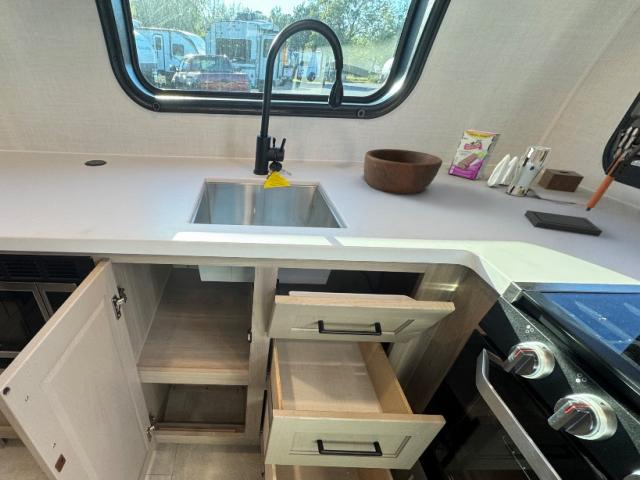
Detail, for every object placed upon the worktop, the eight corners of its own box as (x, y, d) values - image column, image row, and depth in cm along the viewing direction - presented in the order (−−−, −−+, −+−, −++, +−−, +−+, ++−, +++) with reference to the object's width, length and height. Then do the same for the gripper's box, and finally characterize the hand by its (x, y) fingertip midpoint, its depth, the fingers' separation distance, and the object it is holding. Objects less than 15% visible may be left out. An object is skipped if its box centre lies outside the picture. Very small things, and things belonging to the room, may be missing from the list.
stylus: (589, 210, 85) (629, 154, 76) (592, 212, 84) (632, 155, 75) (582, 209, 85) (620, 153, 77) (584, 211, 84) (624, 154, 76)
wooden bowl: (411, 177, 127) (420, 149, 120) (445, 197, 106) (458, 165, 100) (350, 176, 126) (356, 148, 120) (373, 196, 106) (382, 164, 99)
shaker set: (493, 189, 115) (509, 156, 109) (482, 186, 118) (496, 154, 112) (510, 185, 120) (527, 153, 114) (499, 182, 123) (514, 151, 117)
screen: (580, 220, 89) (581, 218, 89) (592, 230, 83) (594, 228, 83) (532, 214, 92) (534, 212, 92) (541, 223, 87) (542, 221, 86)
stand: (561, 191, 115) (574, 171, 111) (570, 197, 109) (584, 176, 105) (535, 188, 118) (546, 168, 113) (542, 194, 111) (554, 173, 107)
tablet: (582, 223, 90) (586, 218, 89) (598, 236, 82) (602, 231, 82) (524, 214, 94) (527, 210, 93) (534, 227, 87) (537, 221, 86)
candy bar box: (446, 174, 132) (464, 130, 122) (452, 172, 134) (470, 129, 124) (474, 180, 124) (495, 134, 114) (480, 179, 126) (501, 133, 117)
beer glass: (503, 189, 115) (526, 144, 106) (527, 193, 112) (552, 147, 103) (503, 194, 111) (527, 147, 102) (527, 198, 107) (554, 150, 98)
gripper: (715, 96, 63) (647, 185, 73) (672, 93, 73) (617, 171, 83) (665, 94, 65) (605, 180, 75) (630, 91, 75) (581, 168, 85)
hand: (612, 175), depth 79 cm, fingers closed on stylus, 1 cm apart
